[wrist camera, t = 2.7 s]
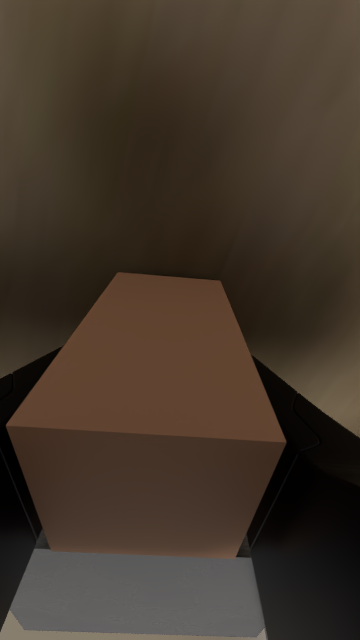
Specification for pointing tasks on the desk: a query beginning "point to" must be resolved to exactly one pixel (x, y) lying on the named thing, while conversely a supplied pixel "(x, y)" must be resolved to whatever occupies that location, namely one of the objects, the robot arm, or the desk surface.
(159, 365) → the cover
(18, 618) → the block
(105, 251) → the desk surface
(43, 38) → the desk surface
